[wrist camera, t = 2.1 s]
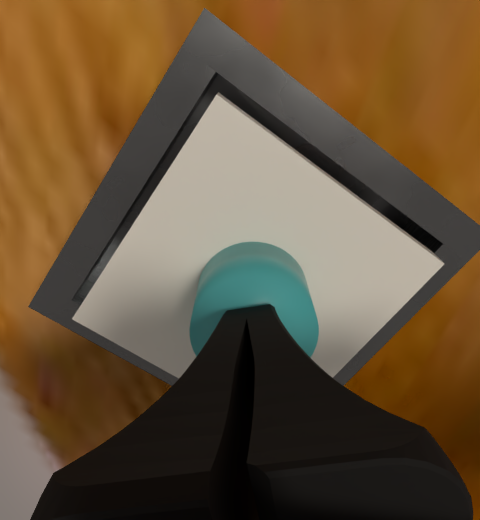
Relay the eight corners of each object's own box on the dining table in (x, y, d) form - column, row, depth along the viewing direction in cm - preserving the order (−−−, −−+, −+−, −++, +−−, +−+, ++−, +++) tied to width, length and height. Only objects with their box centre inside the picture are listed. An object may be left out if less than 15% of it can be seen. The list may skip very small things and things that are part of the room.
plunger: (432, 251, 15) (483, 301, 12) (276, 415, 18) (283, 490, 15) (218, 92, 13) (210, 101, 10) (81, 304, 16) (41, 364, 13)
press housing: (445, 203, 19) (493, 236, 15) (276, 385, 23) (282, 446, 19) (213, 20, 16) (204, 7, 13) (66, 263, 20) (28, 306, 17)
